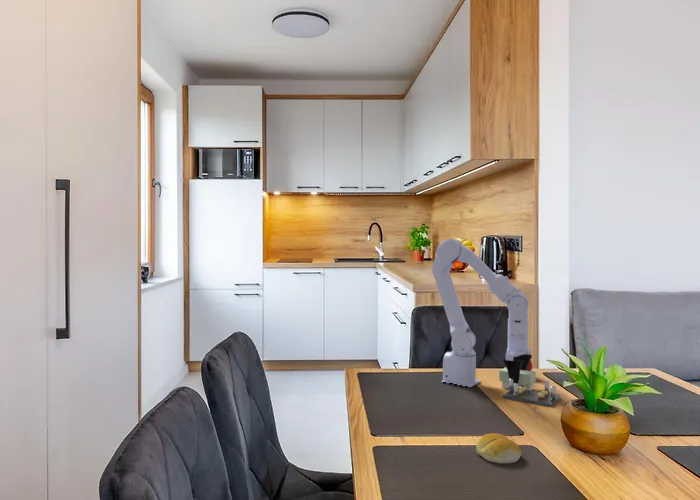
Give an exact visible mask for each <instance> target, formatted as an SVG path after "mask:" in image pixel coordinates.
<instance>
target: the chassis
mask: <svg viewBox="0 0 700 500" xmlns="http://www.w3.org/2000/svg"><path fill="white" fill-rule="evenodd" d="M518 385H519V384H517V383H514V388H513V379H509V388H508V391H507V392H505V393H504V394H502V398H503V399H507V400H512V401H517V402H522V403H527V404H528V403H529V404H533V405H539V406H544V407H549V408H552V407H553V406H554V405H555V404H557V403H558V401H560V400H562V399H561V398H562V396H561V395H558V394H557V387H556V386H555V385H551V386H550V381H549V380H544V389H541V390H540V391H535V390H531V391H530V390H526V387H524V386H519V388H518Z"/></svg>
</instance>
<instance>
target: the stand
mask: <svg viewBox="0 0 700 500" xmlns="http://www.w3.org/2000/svg"><path fill="white" fill-rule="evenodd" d="M519 386H524V387H526V390H530V391H533V390H534V383H533V384H532V385H531V386H528V385H522V384H519V385H518V388H519ZM501 388H506V389H509V382H505V381H501ZM513 388H514V383H513Z"/></svg>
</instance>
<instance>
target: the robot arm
mask: <svg viewBox="0 0 700 500" xmlns="http://www.w3.org/2000/svg"><path fill="white" fill-rule="evenodd" d="M438 245H439V246H438V247H437V248H436V250H435V255H434V261H433V265H432V269H431V271H432V275H433V277H434V280H435V284H436V287H437V289H438V290H437V291H438V292H439V296H440V300H441V303H442V305H443V309H444V312H445V315H446V317H447V321H448V323H449V333H450V336H451V342H450V346H451V349H452V350H451V351H446V352H445V353H444V355H443V357H442V358H443V359H442V380H441V383H443V382H446V383H445V384H449V383H453V384H452V385H454V384H457V385H456V386H460V385H462V386H461V387H465V386H467V388H472V387H474V386H475V385H477V384H479V383H481V382H482V381H481V379H476V378H477V377H476V376H477V374H476V373H477V371H476V370H477V367H476V366H477V363H476V362H477V353H476V351H475V349H474V347H475V345H476V343H477V338H476V335H475V334H474V332H473V331H472V330H471V328H470V325H469V323H467V320H466V318H465V316H464V313H463V312H464V311H463V309H462V306H461V304H460V300H459V297H458V294H457V292H456V288H455V285H454V282H453V279H452V276H451V273H450V271H451V269H452V267H453V265H455V264H454V263H455V262H456V261H457V262H460V263H464V264H468V265H469V266H470V267H471V268H472V269H473V270H474V271H475V272H476V273H478V274H479V275H480V276H481V277H482V278H483V280H485V281H487V288H488V290H489V291H490V292H491V293H492V294H494V295H495V297H496V298H497V299H499V301H501V302H502V304H506V308H507V310H508V318H507V348H506V353H505V357H503V358H502V361H503V363H504V365H505V367H506V368H507V370H508V374H509V379H513V383H518V381H519V376H520V370H527V366H528V364H529V361H530V360H531V359H532V357H533V356H532V354H533V350H530V345H529V319H528V317H529V313H528V310H529V306H530V305H529V299H528V298H527V296H526V295H525V293H523V292H521V291H522V290H521V289H520V288H516V286H514V284H513V283H511V281H509V279H510V278H509V277H508V276H507V275H505V276H504V275H503V274H497V273H495V272H494V271H493V270H491V268H490V267H489V266H487V264H486V263H485V262H484V261H483V260H482V259H481V258H480V257H479V256H478V255H477V254H476V253H475V252H474V251H473V250H472V249H470V248H469V247H468V246H466V245H465V244H463V242H462V241H460V240H459V239H456V238H447V239H444V240H443V241H442V242H441V243H439V244H438Z"/></svg>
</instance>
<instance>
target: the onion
mask: <svg viewBox="0 0 700 500" xmlns="http://www.w3.org/2000/svg"><path fill="white" fill-rule="evenodd" d="M527 371H533V363H532V360H531V359H530V361H529V364H528V366H527Z"/></svg>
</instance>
